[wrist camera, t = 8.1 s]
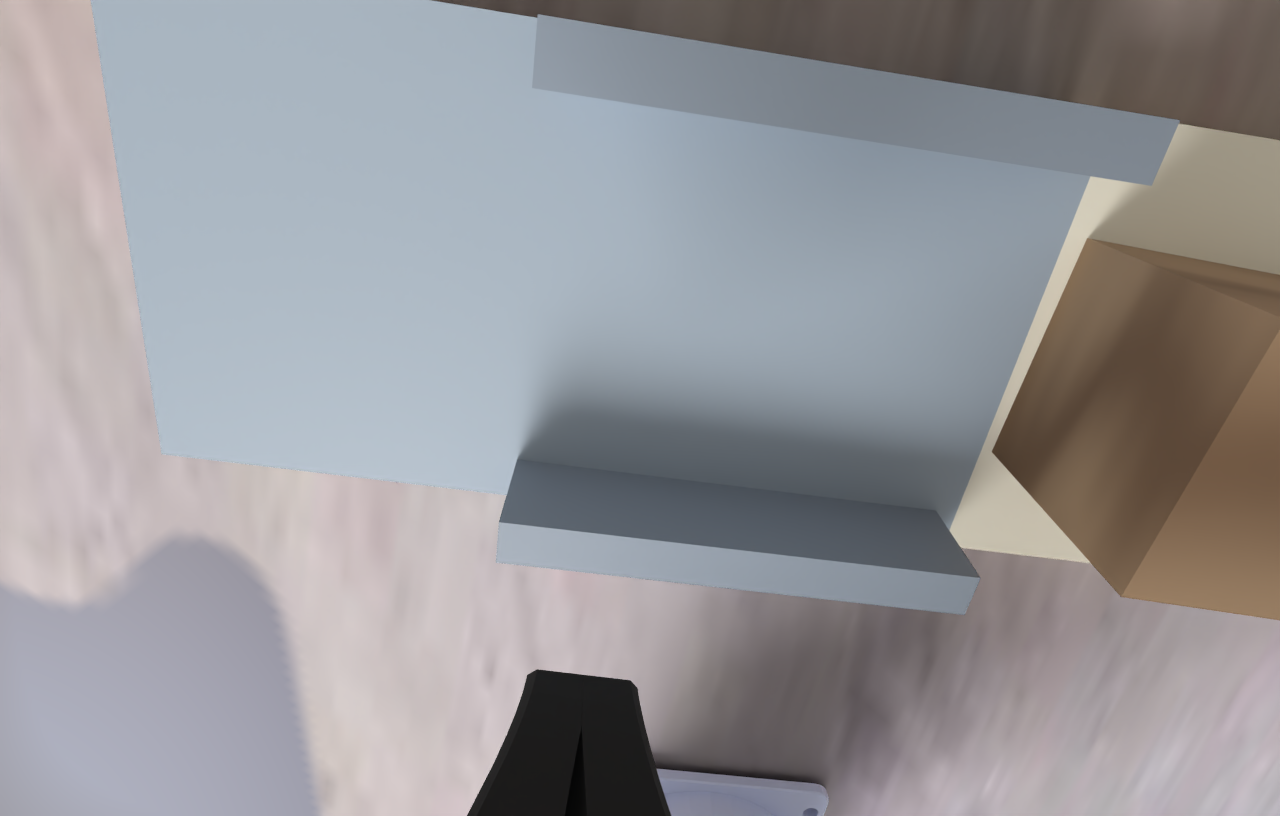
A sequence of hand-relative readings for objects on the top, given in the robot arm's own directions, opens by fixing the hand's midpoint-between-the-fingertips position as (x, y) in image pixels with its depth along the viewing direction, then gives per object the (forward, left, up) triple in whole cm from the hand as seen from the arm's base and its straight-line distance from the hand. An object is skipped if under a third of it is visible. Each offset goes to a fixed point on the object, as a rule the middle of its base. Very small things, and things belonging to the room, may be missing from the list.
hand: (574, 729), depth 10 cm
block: (+4, -12, -8) cm, 14 cm away
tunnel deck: (+3, -7, -10) cm, 13 cm away
